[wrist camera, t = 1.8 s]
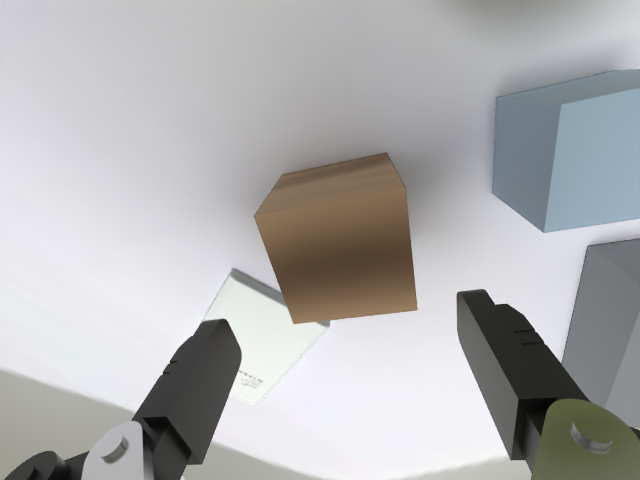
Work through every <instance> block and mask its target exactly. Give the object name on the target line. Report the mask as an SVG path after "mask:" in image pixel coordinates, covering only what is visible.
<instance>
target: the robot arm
mask: <svg viewBox="0 0 640 480" xmlns="http://www.w3.org/2000/svg"><path fill="white" fill-rule="evenodd" d="M457 331H458V336H459V340H460V344H461V347H462V349H463V351H464V354H465V356H466V358H467V361H468V363H469V365H470V368H471V370H472V372H473V374H474V377H475V379H476V381H477V384H478V386H479V388H480V391H481V393H482V395H483V398H484V400H485V402H486V404H487V407H488V409H489V411H490V414H491V416H492V418H493V421H494V423H495V425H496V427H497V430H498V432H499V434H500V437H501V439H502V441H503V444H504V446H505V448H506V451H507V453H508V455H509V457H510V460H526V462H527V464H528V467H529V469H530V471H531V473H532V476H531V480H640V430H637V429H635V428H632V427H629V426H628V425H627V424H626V423H625V422H623V421H622V420H621V419H620V418H619V417H617V416H616V415H614V414H613V413H611V412H610V411H608V410H606V409H605V408H603V407H601V406H598V405H596V404H594V403H592V402H591V401H590V400H589V399H588V398H587V397H586V396H585V395H584V393H583V392H582V391H581V389H580V388H579V387H578V385H577V384H576V383H575V381H574V380H573V379H572V378H571V376H570V375H569V374H568V372H567V371H566V370H565V368H564V367H563V366H562V364H561V363H560V362H559V361H558V359H557V358H556V357H555V355H554V354H553V353H552V351H551V350H550V349H549V348H548V346H547V345H545V344H544V341H543V340H542V338H541V337H540V336H539V334H538V333H537V332H535V329H534V328H533V327H532V325H531V324H530V323H529V321H528V320H527V319H526V318H525V316H524V315H523V314H521V313H520V312H518V311H517V310H515V309H514V308H512V307H511V306H509V305H508V304H499V305H495V304H494V302H493V301H492V299H491V298H490V296H489V295H488V293H487V292H486V291H485V290H484V289H478V290H470V291H461V292H458V293H457ZM241 360H242V353H241V348H240V346H239V344H238V342H237V339H236V337H235V335H234V333H233V331H232V329H231V327H230V325H229V323H228V321H227V320H226V319H214V320H206V321H203V322H202V323H201V324H200V326H199V327H198V329H197V331H196V332H195V334H194V335H193V336H191V337H190V338H189V339H188V340H187V341H185V342H184V343H183V344H182V345H181V346H180V347H179V348H178V350H177V351H176V353H175V354H174V356H173V357H172V359H171V360H170V364H168V365H167V366H166V368H165V369H164V371H163V375H161V376H160V377H159V379H158V380H157V382H156V383H155V385H154V386H153V388H152V389H151V391H150V393H149V394H148V396H147V397H146V399H145V400H144V402H143V403H142V405H141V406H140V408H139V409H138V411H137V412H136V414H135V416H134V417H133V419H132V420H131V421H128V422H124V423H122V424H120V425H117V426H116V427H114V428H112V429H111V430H110V431H108V432H107V433H106V434H105V435H104V436H102V437H101V438H100V439H99V440H98V441H97V443H96V444H95V445H94V446H93V448H92V449H91V450H90V451H88V452H86V453H83V454H80V455H77V456H75V457H72V458H70V459H67V460H62V459H61V458H60V457H59V456H58V455H57V454H56V453H55V452H53V451H45V452H42V453H39V454H37V455H35V456H33V457H31V458H30V459H28V460H26V461H25V462H23V463H22V464H21V465H20V466H18V467H17V468H16V469H15V470H14V471H12V472H11V473H10V474H9V475H8V476H7V477H6V478H5V479H4V480H185V479H184V477H183V476H182V475H183V472H184V470H185V467H186V465H193V464H194V465H195V464H202V463H203V460H204V458H205V455H206V453H207V450H208V447H209V445H210V442H211V440H212V437H213V435H214V432H215V429H216V427H217V424H218V422H219V419H220V417H221V414H222V411H223V409H224V406H225V404H226V401H227V399H228V396H229V393H230V391H231V388H232V386H233V383H234V381H235V378H236V375H237V373H238V370H239V368H240V365H241Z"/></svg>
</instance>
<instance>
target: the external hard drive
mask: <svg viewBox="0 0 640 480" xmlns="http://www.w3.org/2000/svg"><path fill="white" fill-rule="evenodd" d="M214 319H226V320H227V321H228V323H229V325H230V327H231V329H232V331H233V333H234V335H235V337H236V339H237V342H238V344H239V346H240V348H241V353H242V360H241V365H240V368H239V370H238V373H237V375H236V378H235V381H234V383H233V386H232V388H231V391H230V393H229V396H230V397H232V398H235V399H237V400H239V401H242V402H244V403H246V404H248V405H251V406H257V405H258V404H259V403H260V402H261V401H262V400H263V399H264V398H265V397H266V396H267V395H268V394H269V392H270V391H271V390H272V389H273V388H274V387H275V386H276V385H277V384H278V383H279V382H280V381H281V380H282V378H283V377H284V376H285V375H286V374H287V373H288V372H289V371H290V370H291V369H292V368H293V367H294V365H295V364H296V363H297V362H298V361H299V360H300V359H301V358H302V357H303V356H304V355H305V354H306V353H307V351H308V350H309V349H310V348H311V347H312V346H313V345H314V344H315V343H316V341H317V340H318V339H319V338H320V337H321V336H322V335H323V334H324V333H325V332H326V331H327V330H328V328H329V327H330V320H327V321H319V322H310V323H301V324H293V322H292V319H291V316H290V314H289V311H288V308H287V305H286V303H285V300H284V297H283V294H281V293H279V292H277V291H275V290H273V289H271V288H270V287H268V286H266V285H264V284H262V283H260V282H258V281H256V280H254V279H253V278H251V277H249V276H247V275H245V274H243V273H241V272H239V271H238V270H236V269H234V268H233V269H232V271H231V273H230V274H229V276H228V278H227V279H226V281H225V283H224V285H223V286H222V288H221V290H220V292H219V293H218V295H217V297H216V298H215V300H214V302H213V304H212V305H211V307H210V309H209V310H208V312H207V314H206V316H205V317H204V319H203V321H206V320H214ZM203 321H202V322H203Z"/></svg>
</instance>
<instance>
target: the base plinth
mask: <svg viewBox="0 0 640 480" xmlns="http://www.w3.org/2000/svg"><path fill="white" fill-rule="evenodd" d="M562 366H563V367H564V368H565V370H566V371H567V372H568V374H569V375H570V376H571V378H572V379H573V380H574V381H575V383H576V384H577V385H578V387H579V388H580V389H581V391H582V392H583V393H584V395H585V396H586V397H587V398H588V399H589V400H590V401H591V402H592V403H594V404H596V405H598V406H601V407H603V408H605V409H606V410H608V411H610V412H611V413H613V414H614V415H616V416H617V417H619V418H620V419H621V420H622V421H623V422H625V423H626V424H627V425H628V426H629V427H632V428H639V427H640V239H635V240H628V241H621V242H614V243H607V244H600V245H592V246H588V248H587V253H586V257H585V262H584V266H583V271H582V275H581V280H580V284H579V289H578V293H577V298H576V302H575V307H574V311H573V316H572V320H571V325H570V329H569V334H568V338H567V343H566V347H565V352H564V356H563V361H562Z"/></svg>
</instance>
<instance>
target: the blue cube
mask: <svg viewBox="0 0 640 480" xmlns="http://www.w3.org/2000/svg"><path fill="white" fill-rule="evenodd" d="M492 193H493V194H494V195H495V196H496V197H498V198H499V199H500V200H502V201H503V202H504V203H506V204H507V205H508V206H509V207H511V208H512V209H513V210H515V211H516V212H517V213H519V214H520V215H521V216H522V217H524V218H525V219H526V220H528V221H529V222H530V223H532V224H533V225H534V226H535V227H537V228H538V229H539V230H541V231H542V232H543V233H547V232H553V231H560V230H567V229H573V228H580V227H587V226H593V225H600V224H607V223H613V222H620V221H626V220H633V219H640V69H637V70H614V71H610V72H605V73H601V74H597V75H592V76H588V77H584V78H579V79H575V80H571V81H566V82H562V83H558V84H553V85H549V86H545V87H540V88H536V89H532V90H527V91H523V92H519V93H514V94H510V95H506V96H501V97H497V98H496V119H495V142H494V165H493V188H492Z"/></svg>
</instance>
